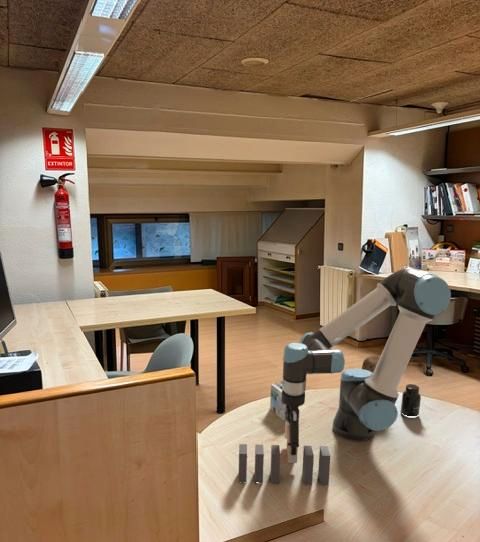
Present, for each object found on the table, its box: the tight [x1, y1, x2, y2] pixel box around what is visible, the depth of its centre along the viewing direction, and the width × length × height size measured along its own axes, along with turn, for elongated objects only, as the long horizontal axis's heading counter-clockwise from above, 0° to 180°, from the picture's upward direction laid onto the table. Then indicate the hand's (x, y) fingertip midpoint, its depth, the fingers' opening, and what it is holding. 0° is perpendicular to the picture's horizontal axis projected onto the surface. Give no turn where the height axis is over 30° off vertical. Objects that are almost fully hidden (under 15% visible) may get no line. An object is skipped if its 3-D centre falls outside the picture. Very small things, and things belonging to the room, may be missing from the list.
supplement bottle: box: [400, 383, 422, 416], centre depth 179 cm, size 7×7×12 cm
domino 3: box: [270, 444, 281, 485], centre depth 140 cm, size 2×5×10 cm, turn 179°
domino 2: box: [254, 443, 265, 484], centre depth 140 cm, size 2×5×10 cm, turn 179°
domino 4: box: [285, 425, 290, 461], centre depth 151 cm, size 2×5×10 cm, turn 179°
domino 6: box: [317, 445, 331, 486], centre depth 140 cm, size 2×5×10 cm, turn 179°
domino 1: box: [238, 443, 248, 483], centre depth 140 cm, size 2×5×10 cm, turn 179°
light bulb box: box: [269, 381, 286, 422], centre depth 179 cm, size 11×7×11 cm, turn 27°
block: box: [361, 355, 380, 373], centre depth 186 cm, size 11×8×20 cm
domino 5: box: [301, 445, 315, 486], centre depth 140 cm, size 2×5×10 cm, turn 179°
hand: (290, 449), depth 151 cm, fingers open, 13 cm apart
